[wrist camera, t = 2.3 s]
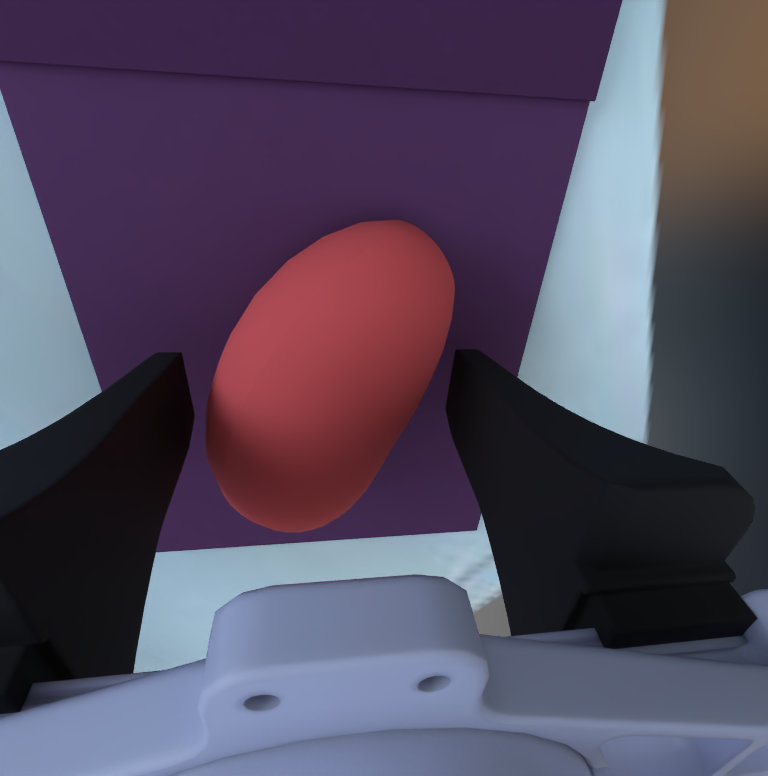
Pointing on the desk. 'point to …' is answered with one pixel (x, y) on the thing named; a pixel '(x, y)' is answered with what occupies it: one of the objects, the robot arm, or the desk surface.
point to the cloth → (298, 187)
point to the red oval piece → (327, 373)
